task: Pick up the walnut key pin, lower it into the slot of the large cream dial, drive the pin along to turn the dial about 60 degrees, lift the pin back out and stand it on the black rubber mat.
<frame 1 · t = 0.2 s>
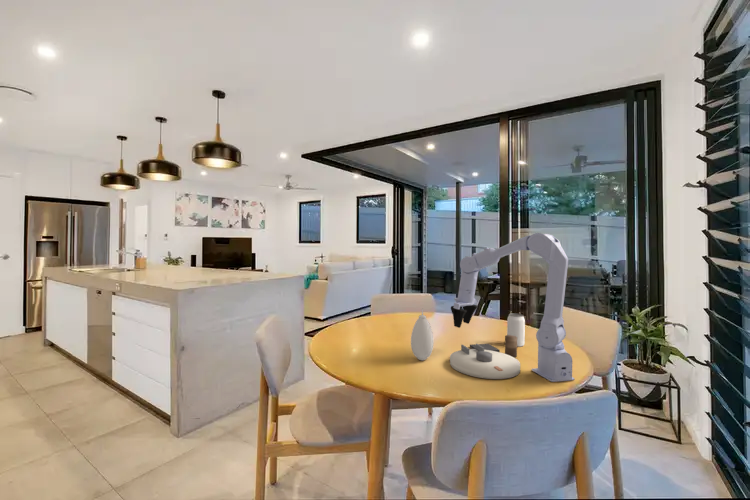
hand: (461, 324, 126), 10 cm above the table, tool pointing down, fingers open, 7 cm apart
mat: (484, 349, 130), on the table
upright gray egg: (421, 360, 119), on the table
can: (515, 345, 137), on the table
key pin: (510, 355, 123), on the table
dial: (484, 359, 113), point 2 cm above the table, hinge at 0.0°
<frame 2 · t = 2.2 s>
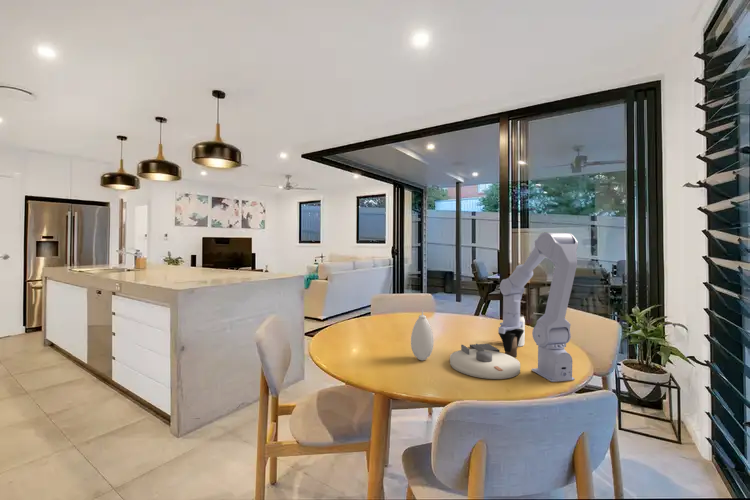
hand: (510, 350, 123), 2 cm above the table, tool pointing down, fingers closed on key pin, 4 cm apart
key pin: (510, 355, 123), on the table, touching gripper
everything else where it was.
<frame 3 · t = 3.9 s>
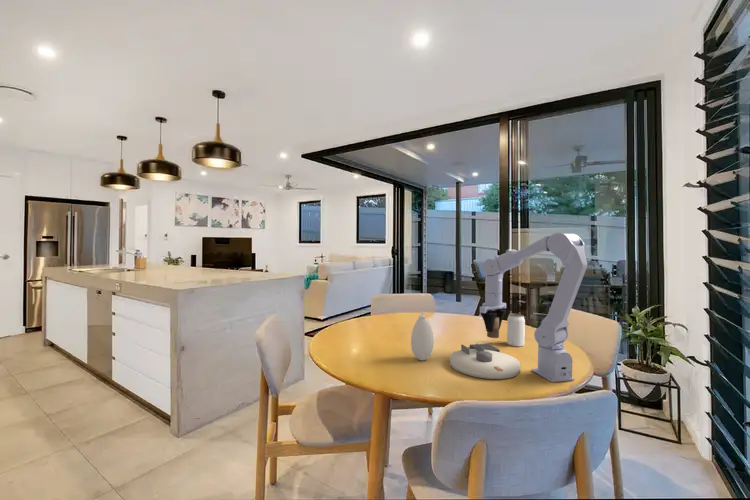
hand: (492, 330, 122), 9 cm above the table, tool pointing down, fingers closed on key pin, 4 cm apart
key pin: (492, 336, 122), point 7 cm above the table, touching gripper
everything else where it was.
when the fingers open (5 cm above the table, at t = 6.0 s): key pin stays where it is, resting on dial.
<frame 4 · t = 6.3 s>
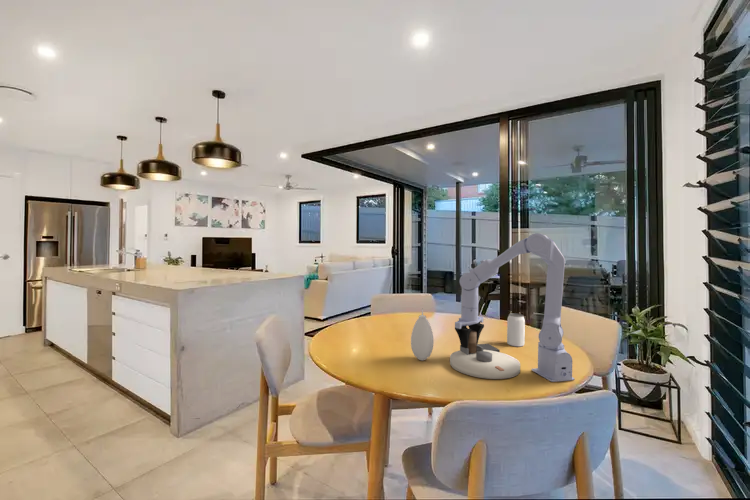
hand: (469, 345, 119), 5 cm above the table, tool pointing down, fingers open, 5 cm apart
key pin: (470, 351, 120), point 3 cm above the table, touching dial, gripper
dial: (484, 359, 113), point 2 cm above the table, hinge at 2.9°, touching key pin
everything else where it was.
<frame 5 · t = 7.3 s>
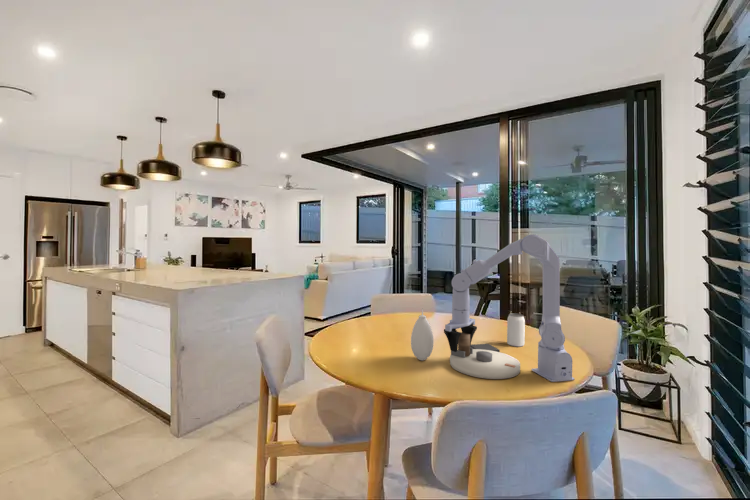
hand: (460, 348, 116), 5 cm above the table, tool pointing down, fingers open, 7 cm apart
key pin: (463, 354, 117), point 3 cm above the table, touching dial, gripper
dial: (484, 359, 113), point 2 cm above the table, hinge at 37.0°, touching key pin
everything else where it was.
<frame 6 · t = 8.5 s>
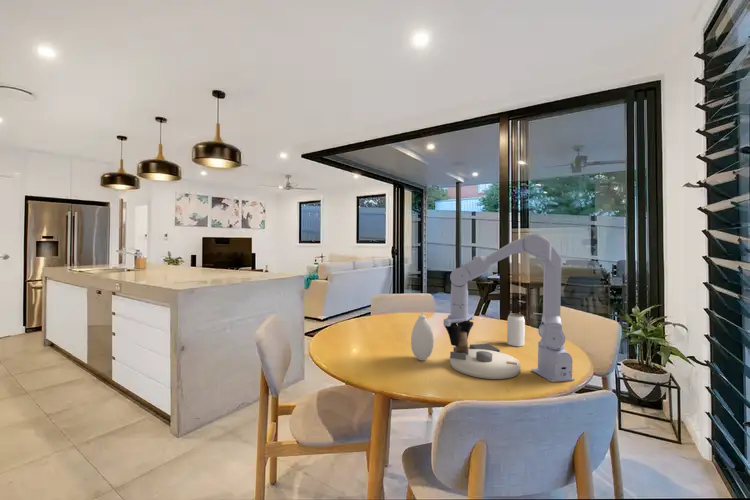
hand: (458, 343, 115), 7 cm above the table, tool pointing down, fingers closed on key pin, 4 cm apart
key pin: (462, 352, 115), point 4 cm above the table, tilted 9°, touching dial, gripper
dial: (484, 359, 113), point 2 cm above the table, hinge at 55.0°, touching key pin
everything else where it was.
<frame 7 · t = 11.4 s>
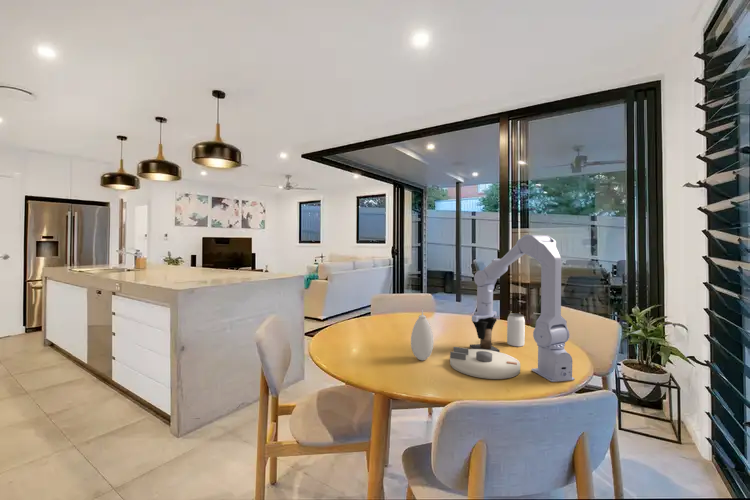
hand: (484, 337, 130), 5 cm above the table, tool pointing down, fingers closed on key pin, 4 cm apart
key pin: (485, 347, 130), point 1 cm above the table, touching gripper, mat
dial: (484, 359, 113), point 2 cm above the table, hinge at 55.0°
everything else where it was.
when the fingers open (5 cm above the table, at t = 11.6 s): key pin stays where it is, resting on mat.
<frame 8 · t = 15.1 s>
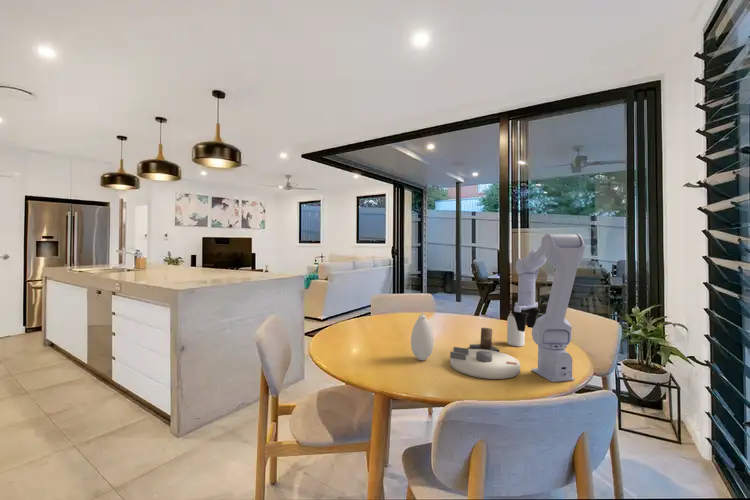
hand: (526, 329, 124), 9 cm above the table, tool pointing down, fingers open, 7 cm apart
key pin: (485, 347, 130), point 1 cm above the table, touching mat
everything else where it was.
at the end: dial at +55° (first picture: +0°); key pin inside the target area (0.6 cm from its centre), point 1.1 cm above the table; key pin tilted 3° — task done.
